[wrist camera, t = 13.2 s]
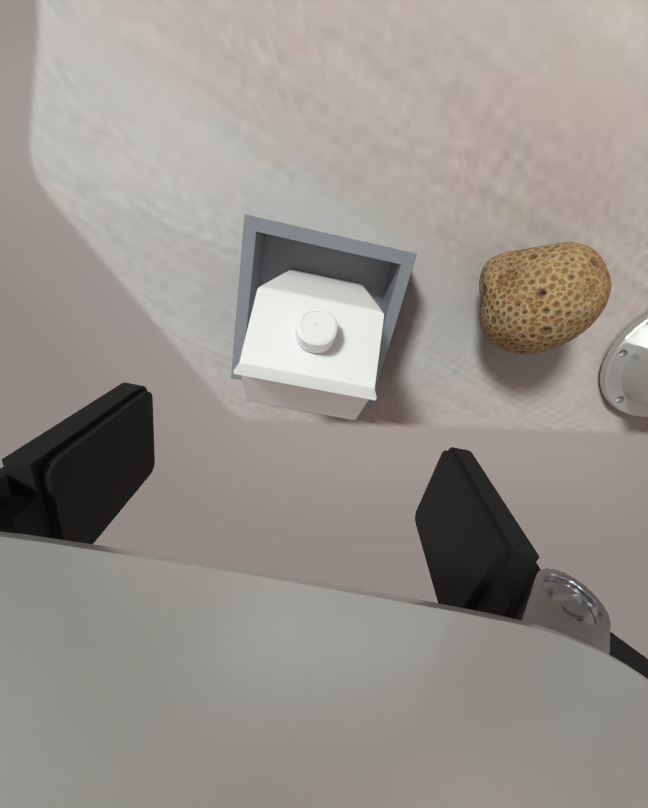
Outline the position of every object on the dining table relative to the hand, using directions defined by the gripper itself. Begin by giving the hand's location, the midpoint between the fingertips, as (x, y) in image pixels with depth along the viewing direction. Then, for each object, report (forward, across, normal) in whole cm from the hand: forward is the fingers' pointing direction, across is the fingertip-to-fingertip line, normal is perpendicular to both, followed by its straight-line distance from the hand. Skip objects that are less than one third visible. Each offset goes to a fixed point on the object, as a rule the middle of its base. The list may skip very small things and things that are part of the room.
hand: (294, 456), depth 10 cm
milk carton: (+25, 0, 0) cm, 25 cm away
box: (+26, +1, 0) cm, 26 cm away
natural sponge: (+26, -17, -6) cm, 32 cm away
